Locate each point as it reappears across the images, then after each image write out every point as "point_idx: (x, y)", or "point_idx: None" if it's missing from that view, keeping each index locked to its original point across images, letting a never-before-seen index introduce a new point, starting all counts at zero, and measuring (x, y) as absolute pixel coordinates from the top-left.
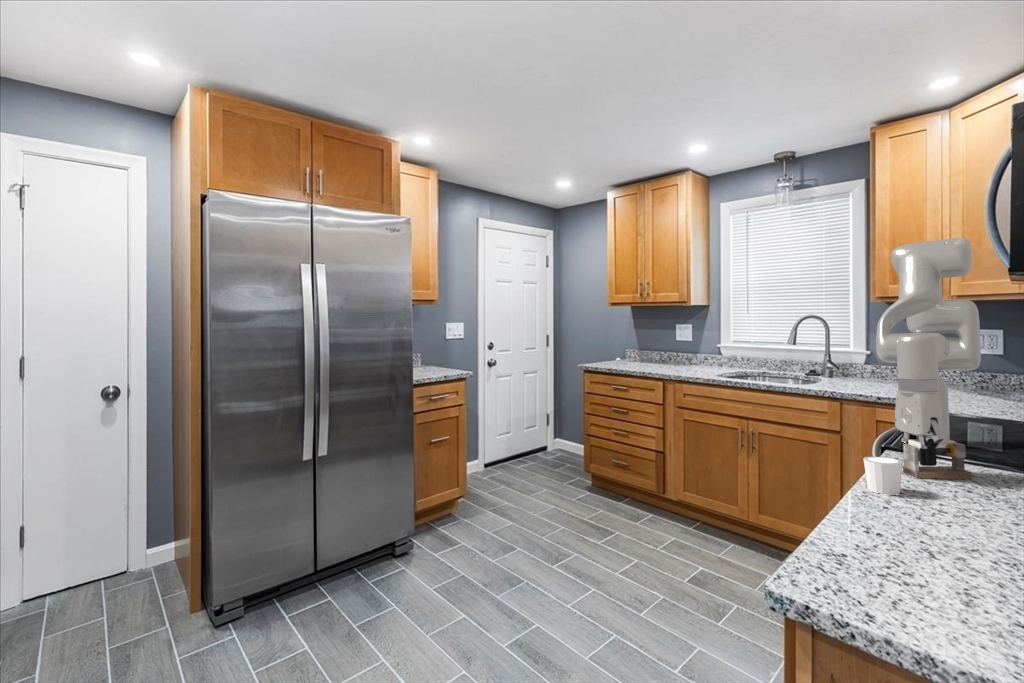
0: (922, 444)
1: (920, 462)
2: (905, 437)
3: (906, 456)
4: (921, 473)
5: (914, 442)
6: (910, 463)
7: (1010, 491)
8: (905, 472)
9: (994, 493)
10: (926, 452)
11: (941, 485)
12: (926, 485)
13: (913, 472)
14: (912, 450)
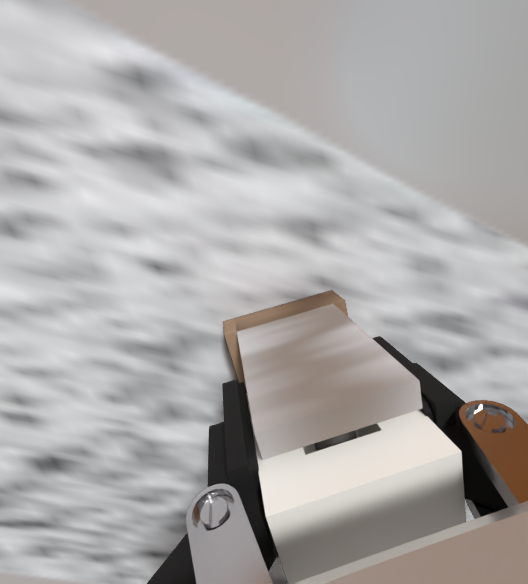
0: (225, 523)
1: (230, 387)
2: (506, 446)
3: (332, 341)
4: (231, 354)
5: (357, 475)
6: (283, 336)
7: (118, 576)
8: (314, 298)
9: (60, 532)
10: (211, 477)
11: (123, 390)
12: (95, 329)
13: (249, 323)
14: (278, 400)
